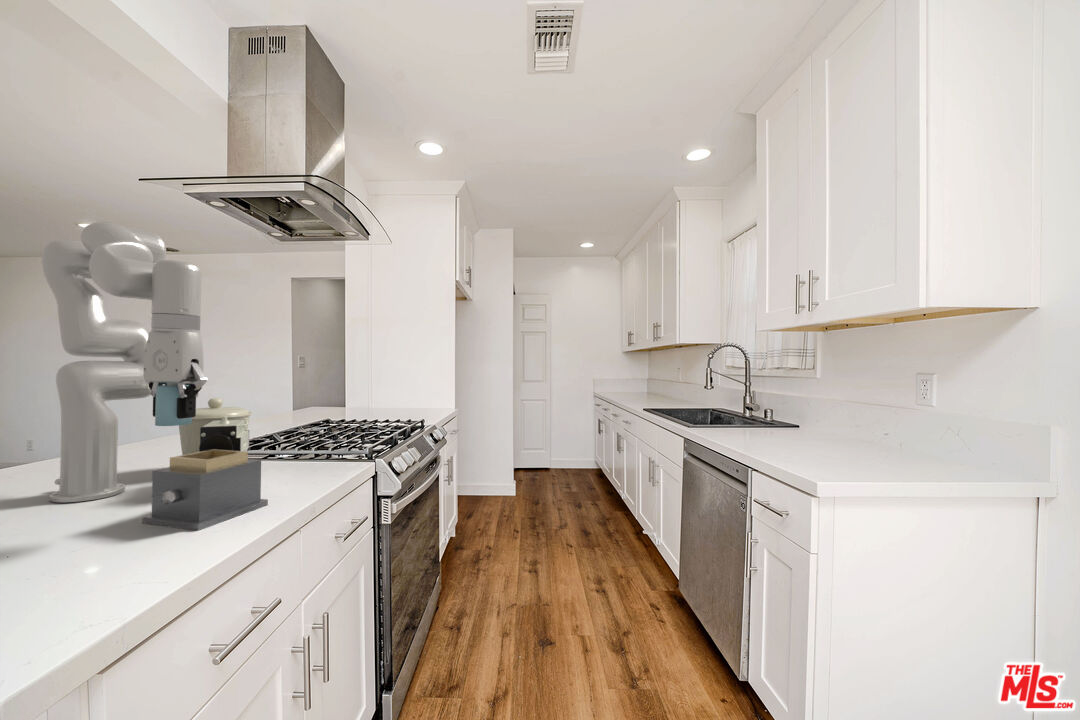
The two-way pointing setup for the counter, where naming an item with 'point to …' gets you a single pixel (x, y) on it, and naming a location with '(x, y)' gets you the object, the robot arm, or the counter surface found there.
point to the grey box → (205, 489)
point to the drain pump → (168, 406)
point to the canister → (203, 417)
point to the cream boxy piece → (224, 435)
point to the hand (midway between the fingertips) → (174, 416)
